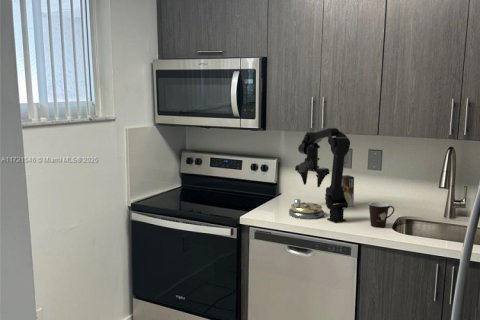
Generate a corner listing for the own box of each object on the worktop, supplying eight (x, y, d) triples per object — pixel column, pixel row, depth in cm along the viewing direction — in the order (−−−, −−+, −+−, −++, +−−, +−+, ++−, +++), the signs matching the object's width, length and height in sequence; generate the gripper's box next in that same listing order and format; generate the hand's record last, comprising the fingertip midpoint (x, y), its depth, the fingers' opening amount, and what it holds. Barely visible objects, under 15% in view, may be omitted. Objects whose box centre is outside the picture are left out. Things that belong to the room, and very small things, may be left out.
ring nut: (307, 204, 227) (307, 193, 227) (328, 211, 215) (328, 199, 214) (284, 209, 219) (285, 197, 218) (305, 215, 207) (305, 203, 206)
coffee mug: (369, 228, 195) (370, 206, 193) (367, 222, 203) (368, 201, 202) (396, 229, 193) (397, 207, 191) (393, 224, 201) (394, 202, 200)
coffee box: (348, 203, 239) (349, 174, 237) (353, 206, 233) (354, 176, 231) (332, 204, 237) (333, 175, 235) (337, 207, 231) (338, 177, 229)
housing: (330, 216, 213) (330, 212, 213) (301, 220, 206) (301, 216, 206) (311, 208, 229) (311, 204, 228) (282, 212, 222) (282, 208, 221)
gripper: (288, 155, 227) (287, 185, 229) (316, 159, 213) (315, 191, 215) (302, 153, 234) (302, 182, 236) (330, 157, 220) (329, 188, 222)
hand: (311, 185), depth 227 cm, fingers open, 9 cm apart
